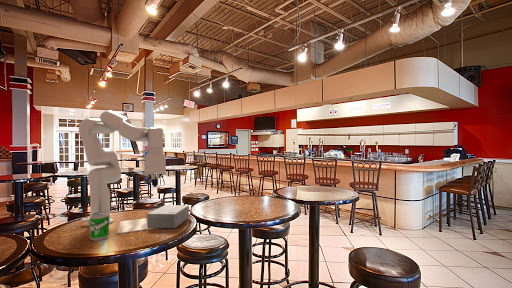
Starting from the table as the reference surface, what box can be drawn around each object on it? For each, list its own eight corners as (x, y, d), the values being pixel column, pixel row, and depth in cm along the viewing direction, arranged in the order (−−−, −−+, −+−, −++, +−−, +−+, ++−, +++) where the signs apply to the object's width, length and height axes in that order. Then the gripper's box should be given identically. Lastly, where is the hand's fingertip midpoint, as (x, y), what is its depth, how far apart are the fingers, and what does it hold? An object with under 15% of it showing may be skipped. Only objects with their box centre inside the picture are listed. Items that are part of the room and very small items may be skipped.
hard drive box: (174, 228, 127) (189, 217, 147) (174, 214, 127) (189, 204, 147) (146, 228, 129) (164, 217, 149) (146, 213, 129) (164, 204, 149)
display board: (117, 234, 122) (117, 233, 122) (120, 222, 142) (120, 221, 142) (176, 225, 134) (176, 224, 134) (171, 215, 154) (171, 214, 154)
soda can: (92, 237, 118) (92, 212, 118) (110, 235, 121) (110, 210, 121) (88, 242, 111) (87, 216, 111) (107, 240, 114) (106, 214, 114)
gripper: (139, 151, 122) (139, 188, 122) (171, 151, 128) (170, 186, 128) (139, 151, 128) (139, 186, 128) (169, 151, 135) (169, 184, 135)
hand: (154, 186), depth 128 cm, fingers closed
